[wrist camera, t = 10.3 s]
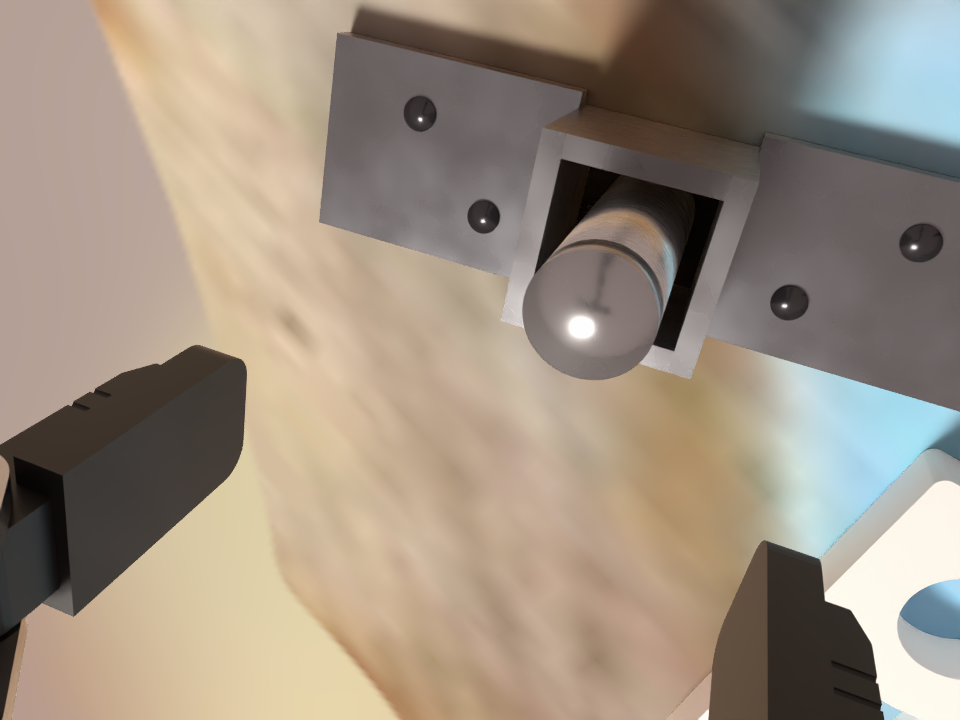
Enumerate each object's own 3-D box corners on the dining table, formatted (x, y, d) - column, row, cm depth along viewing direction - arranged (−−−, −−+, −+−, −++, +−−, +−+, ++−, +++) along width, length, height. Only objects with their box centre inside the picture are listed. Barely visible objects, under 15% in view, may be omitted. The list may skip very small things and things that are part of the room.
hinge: (350, 32, 29) (259, 37, 24) (1064, 203, 24) (1147, 258, 19) (331, 216, 32) (247, 257, 27) (959, 400, 27) (1005, 493, 22)
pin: (615, 155, 28) (538, 234, 18) (707, 178, 27) (676, 273, 18) (593, 242, 29) (510, 356, 20) (679, 265, 29) (636, 397, 19)
